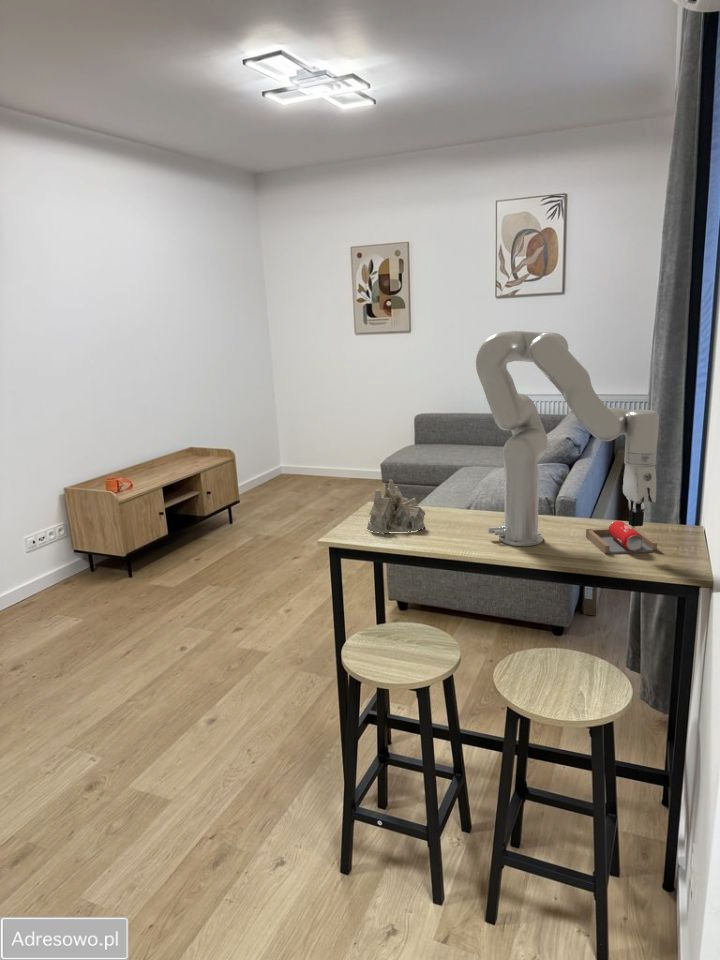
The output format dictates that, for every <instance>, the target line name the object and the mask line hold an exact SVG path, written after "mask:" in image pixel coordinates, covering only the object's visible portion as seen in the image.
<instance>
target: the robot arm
mask: <svg viewBox="0 0 720 960" xmlns="http://www.w3.org/2000/svg"><path fill="white" fill-rule="evenodd" d="M481 344H482V345H480V346H479V349H478V351H477V354H476V358H475V368H476V373H477V376H478V379H479V381H480V384H481V386H482V389H483V391H484V395H485V397H486V398H485V399H486V401H487V404H488V406H489V409H490V412H491V415H492V417H493V420H494V422H495V424H496V426H498V428H499V429H500V430H503V431H510V432H511V434H512V436H510V437H509V438H508V439H507V440H506V441H505V444H504V445H503V448H502V461H503V462H502V463H503V468H504V469H503V470H504V516H503V517H504V519H503V520H504V521H503V522H501V525H498V526H488V527H487V533H488V534H494V536H498V539H499V540H500V541H501V542H502V543H504V544H506V545H509V546H516V547H531V546H536V545H539V544H541V543H542V542H543V541H544V536H543V534H542V533H541V532H539V498H540V496H539V495H540V493H539V492H540V491H539V490H540V487H539V486H540V478H539V477H540V476H539V467H538V460H539V459H541V458H542V457H543V456H544V455H545V454H546V452H547V450H548V447H549V439H548V436H547V433H546V431H545V428H544V424H543V421H542V420H541V419H542V418H541V417H540V414H539V411H538V407H537V406H536V405H535V402H534V401H533V400H532V399H531V398H530V397H529V396H528V395H526V394H524V393H519V392H518V391H517V388H516V386H515V382H514V379H513V378H512V377H513V376H512V375H511V374H510V372H509V370H508V367H507V364H508V363H512V362H528V363H533V364H534V365H536V367H537V368H538V369H539V370H540V371H541V372H542V374H544V376H545V377H546V378H547V379H548V380H549V381H550V382H551V384H553V386H554V387H555V388H556V389H557V390H558V391H559V392H560V394H561V395H562V397H563V398H564V401H565V402H566V404H567V405H568V407H569V409H570V411H571V412H572V414H574V416H575V417H576V419H577V420H578V421H579V423H580V424H582V426H584V428H585V429H586V430H587V432H589V433H590V435H592V436H593V438H596V439H597V440H600V441H603V442H612V441H613V440H615V439H617V438H618V437H619V436H621V435H624V436H625V445H624V459H623V460H624V471H623V479H622V480H623V481H622V483H623V484H622V493H623V495H624V496H625V497H626V499H627V500H628V510H629V512H628V526H629V527H643V526H644V518H645V517H644V515H645V512H646V510H649V507H650V505H649V503H652V504H654V503H656V501H657V500H656V499H657V471H656V470H657V469H656V466H655V465H657V449H658V437H659V436H658V435H659V423H660V422H659V420H660V415H659V413H658V412H657V411H656V410H651V409H634V410H633V409H627V408H623V407H617V406H615V407H613V406H611V407H608V406H607V405H606V404H605V403H604V402H603V401H602V400H601V399H600V397H599V396H598V395H597V393H596V392H595V391H596V390H595V389H594V388H593V385H592V382H591V377H590V375H589V372H588V370H586V368H585V367H584V366H583V365H582V364H581V363H580V362H579V361H578V360H577V359H576V358H575V356H574V355H573V354H572V353H571V352H570V351H569V344H568V341H567V339H566V338H565V337H564V336H563V335H562V334H560V333H557V332H539V331H524V330H523V331H522V330H510V331H501V332H497V333H495V334H493V335H491V336H489V337H488V338H487V339H486V340H484V342H483V343H481ZM500 541H499V542H500Z"/></svg>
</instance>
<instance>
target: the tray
mask: <svg viewBox="0 0 720 960" xmlns="http://www.w3.org/2000/svg"><path fill="white" fill-rule="evenodd" d="M629 527H630V528H632V529H633V530H634V531H636V532H637V533H638V534H640V535H641V537H642V540H643V544H642V547H641V548H640V549H638V550H636V551H630V550H628V549H626V548H625V547H624V546H623V545H621V544H620V543H619V542H618V541H617V540H615V539H614V538H613V537H612V536H611V535H610V533H609V527H605V528H603V527H602V528H587V529H585V538H586V539H587V540H588V541H590V542H591V544H593V545H594V546H595V548H596V547H597V549H598V550H599V551H601V552H602V553H603V554H604V555H616V554H617V555H618V554H619V555H620V554H634V553H636V554H637V553H649V552H650V553H651V552H652V553H653V552H657V549H658V543H657V542H656V541H655V540H654V539H652V538H651V537H650V536H648V535H647V534H645V533H644V532H643V531H641V530H640V529H638V528H637V526H634V527H632V526H629Z"/></svg>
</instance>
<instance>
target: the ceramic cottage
mask: <svg viewBox="0 0 720 960" xmlns="http://www.w3.org/2000/svg"><path fill="white" fill-rule="evenodd" d="M369 516H370V518H369V521H368V523H367V527H366V530H367V529H368V530H370V531H373V532H379V533H389V532H408V531H409V532H411V531H416V530H419V529H422V528H424V527H425V528H426V526H425V523H424V522H425V521H424V519H425V516H426V512H425V510H423V509H422V507H420V506H419V505H418V503H417V501H416V497H412V498H411V499H409V498H406V497H404V496H403V494H402V492H401V490H400V489H399V487H398V485H395V483H394V481H393V479H388V483H387V488H386V491H385V493H384V496H382V492H381V489H375V490H374V497H373V505H372V507H371V510H370V512H369ZM368 530H367V531H368ZM422 530H423V529H422Z"/></svg>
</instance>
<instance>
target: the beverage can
mask: <svg viewBox="0 0 720 960" xmlns="http://www.w3.org/2000/svg"><path fill="white" fill-rule="evenodd" d="M630 527H631V526H630V525H629V524H627V523H625V522H624V521H622V520H615V521H612V522H611V523H610V524H609V526H608V528H609V533H610V535H611V536H612V537H613V538H614V539H615V540H617V541H618V542H619V543H620V544H621V545H623V546H624V547H625V548H626V549H628V550H630V551H636V550H638V549H640V548H641V547H642V544H643V540H642V537H641V535H640V534H638V533H637V532H636V531H634V530H633V529H632V528H630Z"/></svg>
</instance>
